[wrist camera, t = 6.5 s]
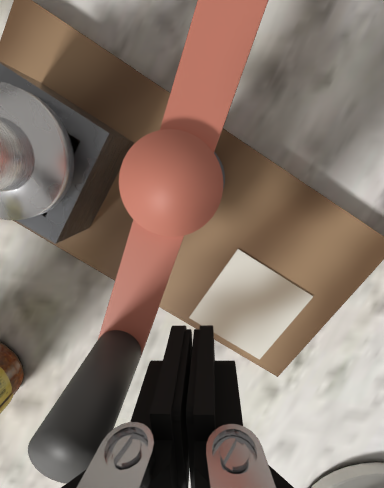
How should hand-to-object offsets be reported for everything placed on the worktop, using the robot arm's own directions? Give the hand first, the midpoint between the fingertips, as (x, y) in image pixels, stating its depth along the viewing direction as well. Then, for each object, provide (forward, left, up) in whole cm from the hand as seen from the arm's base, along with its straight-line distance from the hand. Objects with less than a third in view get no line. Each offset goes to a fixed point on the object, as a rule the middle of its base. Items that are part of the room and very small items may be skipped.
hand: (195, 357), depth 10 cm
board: (+4, -3, -9) cm, 10 cm away
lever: (+4, -6, -2) cm, 8 cm away
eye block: (+11, -2, -9) cm, 14 cm away
